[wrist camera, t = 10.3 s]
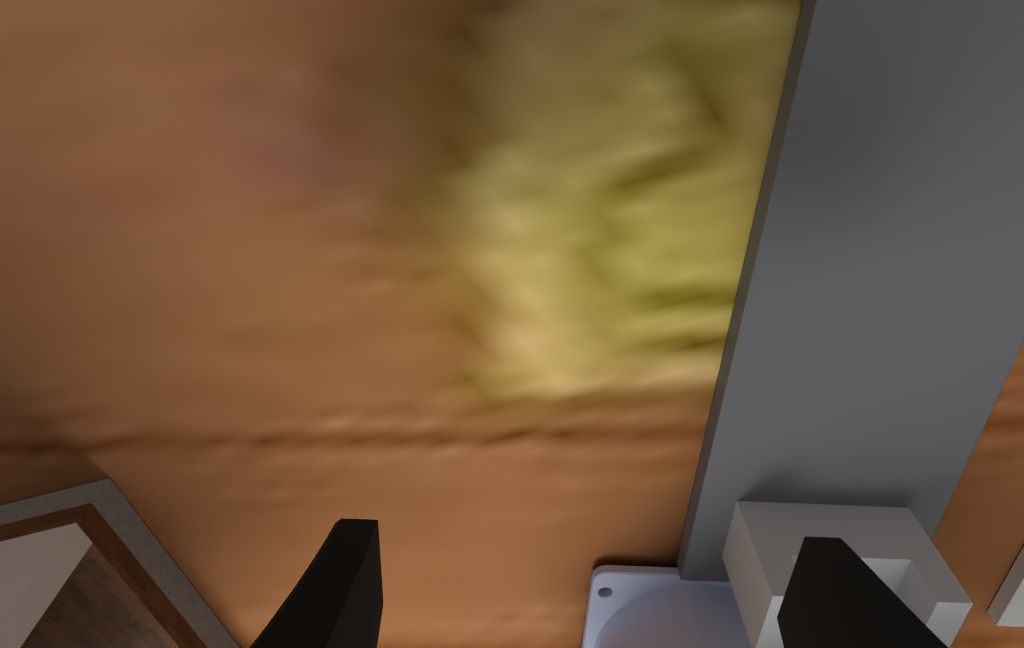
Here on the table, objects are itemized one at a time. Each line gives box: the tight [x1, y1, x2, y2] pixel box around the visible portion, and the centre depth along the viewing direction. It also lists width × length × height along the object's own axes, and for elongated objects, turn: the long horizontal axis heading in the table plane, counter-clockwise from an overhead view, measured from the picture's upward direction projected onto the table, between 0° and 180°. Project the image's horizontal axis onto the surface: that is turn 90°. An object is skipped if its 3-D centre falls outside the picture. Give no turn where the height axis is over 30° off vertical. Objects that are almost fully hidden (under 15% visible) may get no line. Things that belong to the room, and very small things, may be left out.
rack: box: [676, 0, 1024, 648], centre depth 17 cm, size 24×8×4 cm, turn 177°
